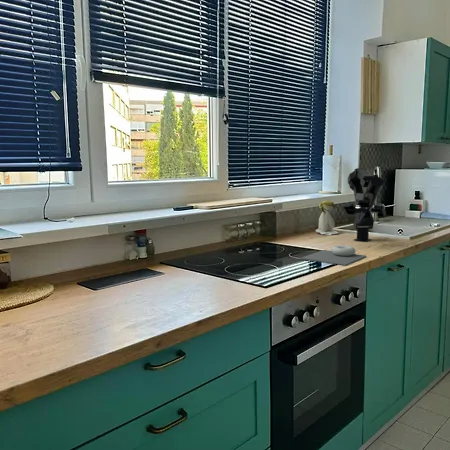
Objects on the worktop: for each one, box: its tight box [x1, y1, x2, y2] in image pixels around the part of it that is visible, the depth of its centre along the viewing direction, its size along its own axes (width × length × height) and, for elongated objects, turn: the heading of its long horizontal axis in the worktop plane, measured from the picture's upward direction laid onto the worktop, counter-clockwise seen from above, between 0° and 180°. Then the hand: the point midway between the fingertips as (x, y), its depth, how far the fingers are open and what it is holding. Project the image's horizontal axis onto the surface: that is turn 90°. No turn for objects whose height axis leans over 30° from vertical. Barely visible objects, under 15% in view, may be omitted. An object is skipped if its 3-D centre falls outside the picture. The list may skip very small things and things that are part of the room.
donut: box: [331, 244, 357, 256], centre depth 193 cm, size 10×4×10 cm
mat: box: [300, 249, 367, 267], centre depth 189 cm, size 20×20×1 cm
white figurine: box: [315, 200, 340, 236], centre depth 247 cm, size 12×13×18 cm
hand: (358, 224), depth 203 cm, fingers closed
